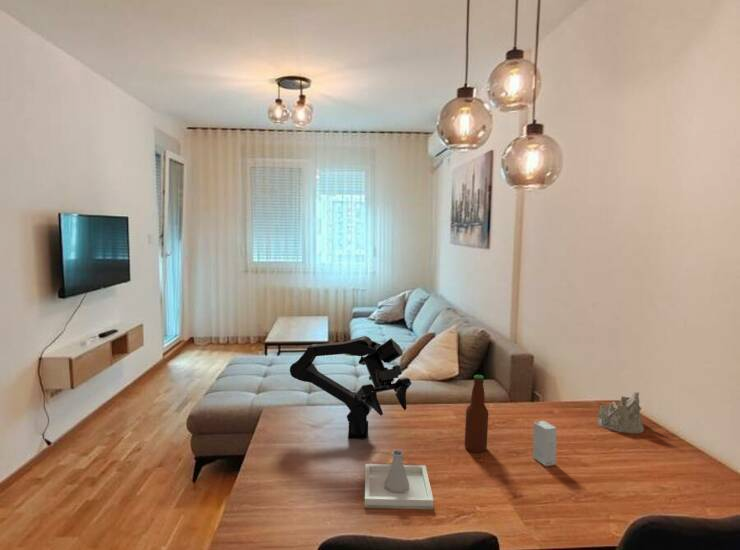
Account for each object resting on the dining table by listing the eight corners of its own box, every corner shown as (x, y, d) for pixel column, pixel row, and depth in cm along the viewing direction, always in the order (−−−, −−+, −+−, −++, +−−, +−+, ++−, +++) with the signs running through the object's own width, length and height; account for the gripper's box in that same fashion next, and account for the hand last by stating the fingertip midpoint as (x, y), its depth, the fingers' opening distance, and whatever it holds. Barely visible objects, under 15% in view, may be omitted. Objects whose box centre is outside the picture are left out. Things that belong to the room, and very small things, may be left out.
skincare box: (556, 464, 147) (558, 427, 146) (544, 466, 146) (546, 429, 145) (542, 455, 153) (544, 420, 152) (531, 457, 152) (533, 421, 150)
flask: (412, 482, 134) (413, 449, 132) (405, 496, 127) (406, 461, 126) (388, 477, 136) (389, 444, 135) (380, 490, 129) (381, 455, 128)
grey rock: (644, 421, 183) (644, 384, 181) (643, 438, 169) (644, 398, 167) (599, 414, 191) (599, 379, 189) (596, 430, 177) (595, 392, 175)
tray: (364, 507, 122) (364, 498, 122) (365, 471, 140) (365, 463, 140) (433, 509, 123) (433, 500, 122) (425, 473, 140) (425, 465, 140)
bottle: (490, 448, 158) (494, 376, 155) (479, 455, 152) (483, 381, 150) (471, 440, 163) (474, 371, 160) (460, 447, 157) (463, 375, 155)
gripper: (361, 361, 149) (379, 406, 141) (409, 354, 159) (428, 395, 151) (349, 378, 157) (365, 422, 149) (395, 370, 167) (413, 410, 158)
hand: (393, 412), depth 151 cm, fingers open, 9 cm apart
